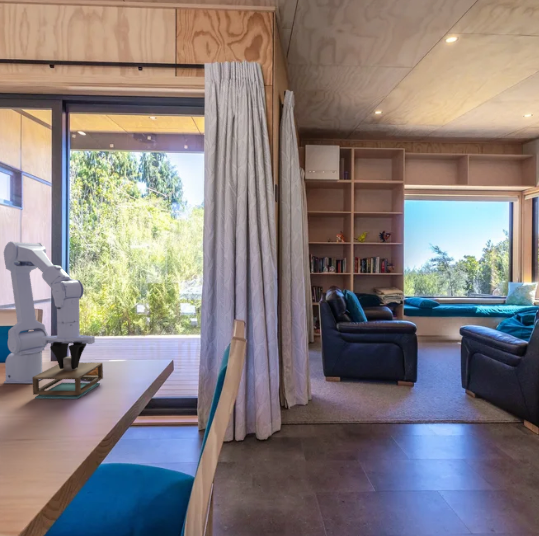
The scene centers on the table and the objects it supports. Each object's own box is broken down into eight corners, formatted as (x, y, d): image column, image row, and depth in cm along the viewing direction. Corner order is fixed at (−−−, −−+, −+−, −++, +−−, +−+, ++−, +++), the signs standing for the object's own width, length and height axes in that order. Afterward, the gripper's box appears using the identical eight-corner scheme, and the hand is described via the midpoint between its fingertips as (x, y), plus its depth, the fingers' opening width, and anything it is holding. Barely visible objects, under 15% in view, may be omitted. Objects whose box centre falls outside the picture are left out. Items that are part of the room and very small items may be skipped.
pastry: (106, 377, 118) (106, 366, 118) (84, 383, 113) (84, 371, 113) (94, 372, 125) (94, 361, 125) (73, 376, 120) (73, 365, 120)
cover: (33, 394, 100) (31, 364, 100) (62, 377, 113) (61, 351, 112) (78, 395, 99) (77, 365, 99) (102, 378, 112) (102, 351, 112)
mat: (35, 398, 100) (35, 396, 100) (61, 383, 112) (61, 382, 112) (77, 398, 99) (77, 397, 99) (99, 384, 111) (99, 382, 111)
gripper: (34, 323, 102) (35, 372, 102) (85, 323, 101) (85, 372, 101) (50, 319, 109) (51, 364, 109) (98, 320, 108) (98, 365, 108)
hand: (68, 368), depth 106 cm, fingers closed on cover, 3 cm apart
